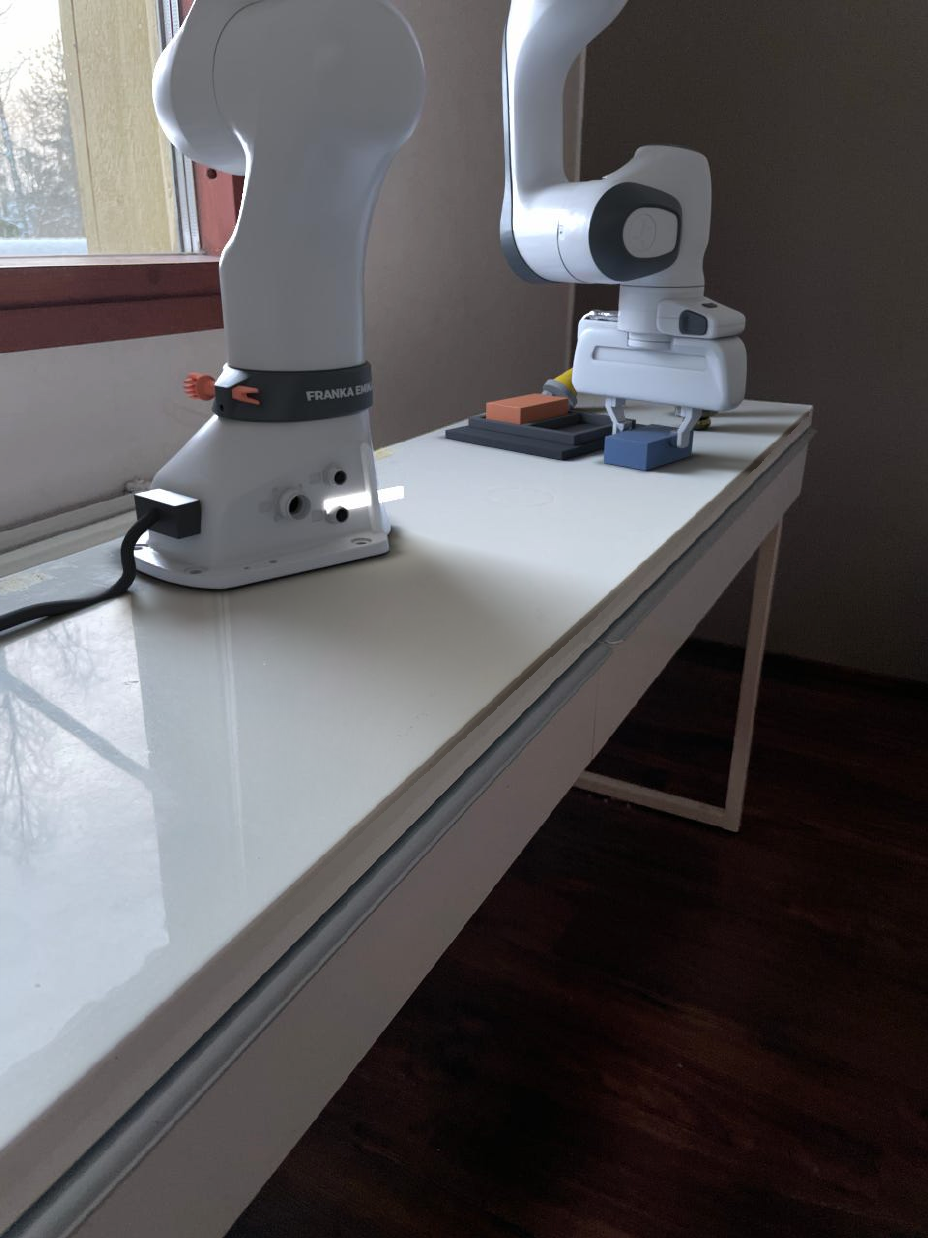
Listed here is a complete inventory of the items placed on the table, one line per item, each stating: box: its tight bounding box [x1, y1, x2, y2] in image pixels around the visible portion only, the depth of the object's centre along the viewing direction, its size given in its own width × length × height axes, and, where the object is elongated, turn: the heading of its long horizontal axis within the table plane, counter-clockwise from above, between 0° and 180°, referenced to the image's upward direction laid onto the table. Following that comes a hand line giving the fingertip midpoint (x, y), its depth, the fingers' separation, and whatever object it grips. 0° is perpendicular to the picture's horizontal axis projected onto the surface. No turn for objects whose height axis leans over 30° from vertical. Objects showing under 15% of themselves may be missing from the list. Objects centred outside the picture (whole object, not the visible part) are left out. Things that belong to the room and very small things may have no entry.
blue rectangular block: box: [603, 423, 695, 472], centre depth 108 cm, size 10×6×3 cm, turn 138°
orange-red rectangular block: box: [485, 392, 569, 425], centre depth 122 cm, size 10×6×3 cm, turn 138°
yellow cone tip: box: [541, 367, 578, 410], centre depth 136 cm, size 5×5×10 cm
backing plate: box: [444, 409, 648, 461], centre depth 120 cm, size 20×18×2 cm
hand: (649, 441), depth 108 cm, fingers open, 6 cm apart
